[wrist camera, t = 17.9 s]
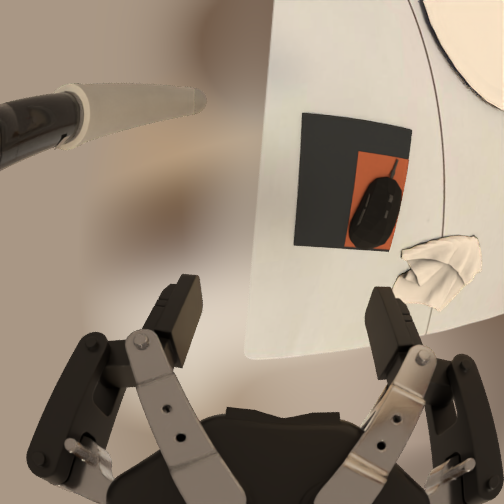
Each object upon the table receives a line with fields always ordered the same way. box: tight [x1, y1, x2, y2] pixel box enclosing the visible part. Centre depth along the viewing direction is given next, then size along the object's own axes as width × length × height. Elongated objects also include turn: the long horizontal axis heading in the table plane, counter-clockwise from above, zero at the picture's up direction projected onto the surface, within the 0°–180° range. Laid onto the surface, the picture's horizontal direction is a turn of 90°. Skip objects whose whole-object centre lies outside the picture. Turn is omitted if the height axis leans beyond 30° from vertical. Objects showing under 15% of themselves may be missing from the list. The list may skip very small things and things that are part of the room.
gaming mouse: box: [349, 159, 402, 250], centre depth 35 cm, size 6×15×4 cm, turn 165°
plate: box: [423, 0, 504, 110], centre depth 17 cm, size 29×29×2 cm
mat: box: [294, 113, 412, 252], centre depth 36 cm, size 16×20×1 cm
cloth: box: [392, 235, 482, 312], centre depth 41 cm, size 20×22×2 cm
